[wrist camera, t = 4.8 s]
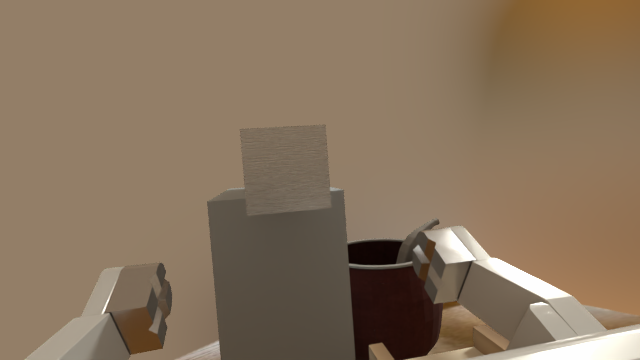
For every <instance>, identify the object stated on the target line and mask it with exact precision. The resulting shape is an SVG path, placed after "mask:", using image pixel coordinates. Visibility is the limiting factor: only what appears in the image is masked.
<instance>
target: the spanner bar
mask: <svg viewBox="0 0 640 360" xmlns="http://www.w3.org/2000/svg"><path fill="white" fill-rule="evenodd" d="M240 136H241V149H242V161H243V171H244V172H243V173H244V185H245V198H246V210H247V216H252V215H263V214H273V213H283V212H294V211H304V210H315V209H325V208H331V194H330V182H329V166H328V153H327V139H326V125H313V126H293V127H292V126H291V127H273V128H252V129H240Z"/></svg>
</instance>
